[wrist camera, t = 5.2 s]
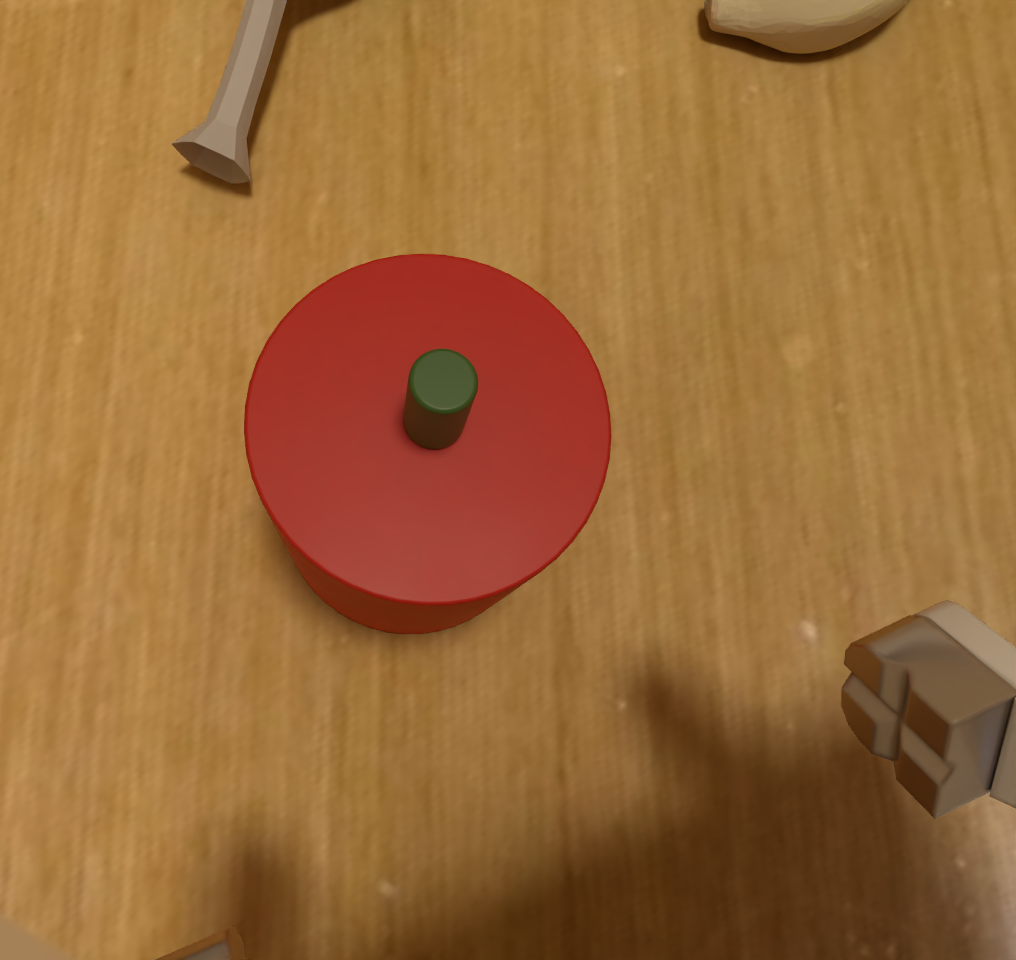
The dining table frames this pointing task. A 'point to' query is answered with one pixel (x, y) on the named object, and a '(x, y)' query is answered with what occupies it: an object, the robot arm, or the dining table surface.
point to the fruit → (799, 21)
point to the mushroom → (236, 97)
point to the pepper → (425, 438)
